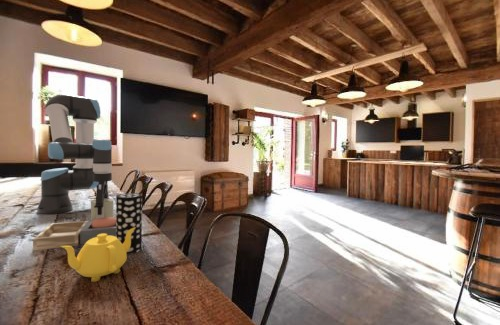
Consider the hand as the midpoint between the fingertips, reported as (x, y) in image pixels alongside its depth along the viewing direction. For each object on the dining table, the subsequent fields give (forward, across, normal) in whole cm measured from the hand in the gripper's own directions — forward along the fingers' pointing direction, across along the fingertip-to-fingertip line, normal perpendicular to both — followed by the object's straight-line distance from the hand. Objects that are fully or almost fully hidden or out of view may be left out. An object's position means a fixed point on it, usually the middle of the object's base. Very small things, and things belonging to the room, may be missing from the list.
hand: (102, 217), depth 111 cm
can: (+4, 0, 0) cm, 4 cm away
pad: (0, +16, +3) cm, 16 cm away
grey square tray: (+4, +16, +3) cm, 16 cm away
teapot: (+4, +49, +7) cm, 49 cm away
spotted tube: (+4, +34, +13) cm, 36 cm away
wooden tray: (+4, +15, -11) cm, 19 cm away
